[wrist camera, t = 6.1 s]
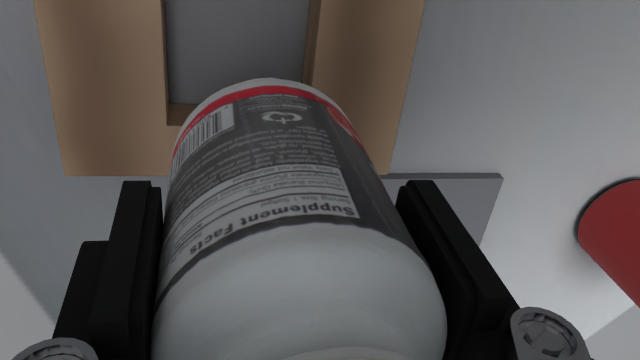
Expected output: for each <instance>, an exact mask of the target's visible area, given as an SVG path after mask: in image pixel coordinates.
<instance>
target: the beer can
mask: <svg viewBox="0 0 640 360" xmlns="http://www.w3.org/2000/svg"><path fill="white" fill-rule="evenodd" d="M578 239H579V242H580V246H581V247H582V248H583V249H584V250H585V251H586V252H587V253H588V254H589V255H590V256H591V258H592V259H593V260H594V261H595V262H596V263H597V264H598V265H599V266H600V267H601V268H602V269H603V270H604V271H605V272H606V273H607V274H608V275H609V276H610V277H611V279H612V280H613V281H614V282H615V283H616V284H617V285H618V286H619V287H620V288H621V289H622V290H623V291H624V292H625V293H626V294H627V295H628V296H629V297H630V298H631V299H632V301H633V302H634V303H635V304H636V305H637V306H638V307H639V308H640V180H632V181H628V182H625V183H621V184H618V185H616V186H614V187H612V188H610V189H608V190H607V191H605V192H604V193H602V194H601V195H600V196H599V197H597V198H596V199H595V200H594V201H593V202H592V203H591V204H590V206H589V207H588V208H587V209H586V210H585V212H584V214H583V216H582V218H581V220H580V222H579V228H578Z"/></svg>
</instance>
